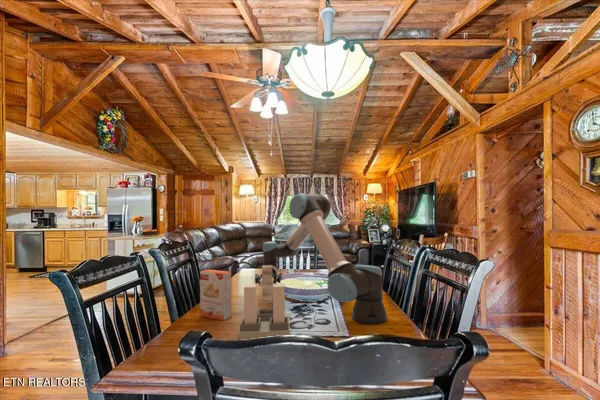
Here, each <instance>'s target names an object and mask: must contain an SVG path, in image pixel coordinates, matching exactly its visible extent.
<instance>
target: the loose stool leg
mask: <svg viewBox="0 0 600 400" xmlns="http://www.w3.org/2000/svg"><path fill="white" fill-rule="evenodd" d="M261 274H262V287H261V288H262V293H261V294H262V303H263V304H264V303H265V304H266V303H273V287H272V282H271V281H272V265H264V266H263V265H262V266H261Z"/></svg>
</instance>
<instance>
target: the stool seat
mask: <svg viewBox="0 0 600 400" xmlns="http://www.w3.org/2000/svg"><path fill="white" fill-rule="evenodd" d="M257 291H258V290H257V284H245V285H244V286H243V315H244V316H243V318H242V319H241V321H240V324H239V331H238V340H239V339H251V338H259V337H267V336H276V335H290V336H291V329H290V324H291V323H290V314H288V313H286V312H285V311H286V308H285V307H286V304H285V303H286V302H285V301H286V299H285V293H286V292H285V291H286V290H285V283H276V284H273V301H272V309H271V308H267V309H266V308H265V309H262V308H261V309H258V298H257V297H258V295H257V294H258V293H257Z"/></svg>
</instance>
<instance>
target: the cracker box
mask: <svg viewBox="0 0 600 400" xmlns="http://www.w3.org/2000/svg"><path fill="white" fill-rule="evenodd" d="M199 289H200V290H199V297H200V298H199V300H200V301H199V303H200V304H199V306H200V307H199V310H200V313H199V314H200V315H199V316H200V317H202V318H208V319H212V320H217V321H222V322H224V321H227V320H228V319H230V318H232V315H233V313H232V272H231V271H228V270H227V271H226V270H216V269H204V270H201V271H199Z"/></svg>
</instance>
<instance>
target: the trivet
mask: <svg viewBox="0 0 600 400" xmlns="http://www.w3.org/2000/svg"><path fill="white" fill-rule="evenodd" d="M285 300H287V301H288V300H289V301H288V302H292V303H298V304H312V303H313V302H308V303H307V302H305V301H300V300H295V299H292V298H289V297H287V296H286V295H285ZM327 300H329V298H327V299H324V300H322V301H316V303H321V302H325V301H327ZM313 304H314V303H313Z"/></svg>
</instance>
